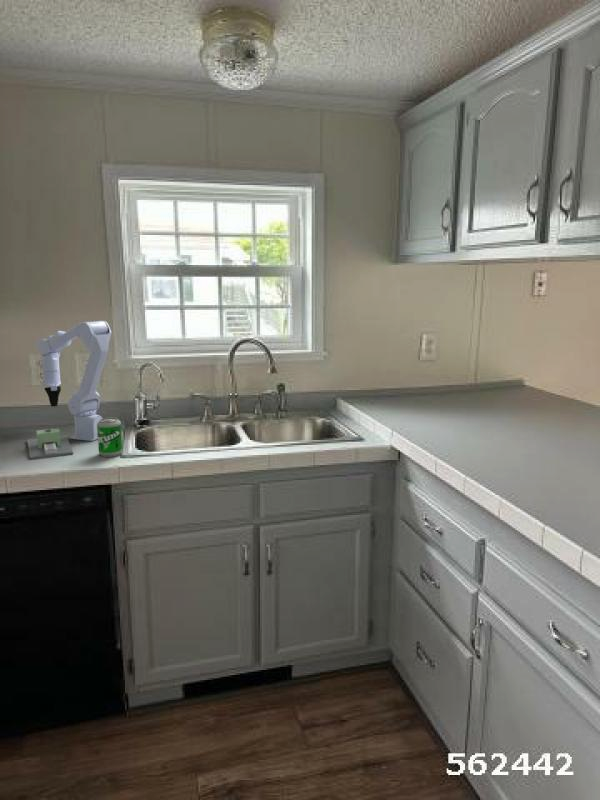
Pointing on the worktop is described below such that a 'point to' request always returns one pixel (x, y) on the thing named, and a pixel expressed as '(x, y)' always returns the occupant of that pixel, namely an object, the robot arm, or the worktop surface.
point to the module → (48, 437)
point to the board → (41, 451)
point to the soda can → (109, 437)
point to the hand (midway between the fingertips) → (54, 406)
